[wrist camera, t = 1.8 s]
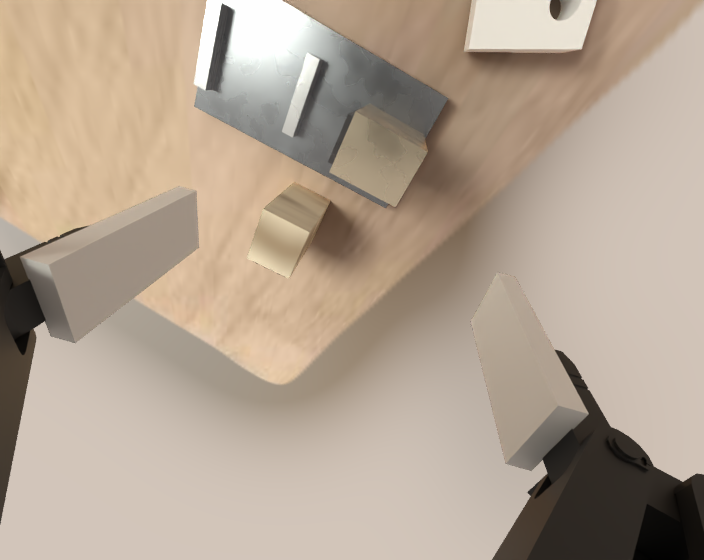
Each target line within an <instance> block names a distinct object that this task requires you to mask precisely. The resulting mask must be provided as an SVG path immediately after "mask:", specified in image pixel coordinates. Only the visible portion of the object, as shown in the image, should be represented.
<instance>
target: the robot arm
mask: <svg viewBox="0 0 704 560" xmlns="http://www.w3.org/2000/svg"><path fill="white" fill-rule="evenodd" d="M198 248H199V238H198V216H197V193H196V191H195V190H192V189H188V188H184V187H180V186H178V187H176V188H174V189H172V190H169V191H167V192H165V193H163V194H160V195H158V196H156V197H154V198H151V199H149V200H147V201H145V202H142V203H140V204H138V205H135V206H133V207H131V208H129V209H126V210H124V211H122V212H120V213H117V214H115V215H113V216H111V217H108V218H106V219H104V220H102V221H99V222H97V223H95V224H93V225H90V226H85V227H81V228H76V229H73V230H71V231H69V232H66V233H64V234H62V235H60V237H55V238H53V239H50V240H48V242H43V243H41V244H39V245H36V246H34V247H32V248H30V249H27V250H25V251H23V252H20V253H18V254H16V255H14V256H11V257H9V258H6V259H4V258H3V256H2V253H1V251H0V523H1V518H2V512H3V507H4V502H5V497H6V491H7V487H8V482H9V476H10V471H11V466H12V461H13V456H14V451H15V446H16V440H17V435H18V430H19V425H20V420H21V415H22V410H23V404H24V399H25V394H26V389H27V384H28V379H29V374H30V369H31V364H32V358H33V353H34V348H35V343H36V334H35V331H34V329H33V328H35V327H36V326H38V325H40V324H41V323H43V322H44V321H45V323H46V325H47V328H48V330H49V333H50V336H52V337H55V338H59V339H63V340H66V341H70V342H73V343H76V342H77V341H79V340H80V339H81V338H82V337H84V336H85V335H86V334H88V333H89V332H90V331H91V330H93V329H94V328H95V327H97V326H98V325H99V324H101V323H102V322H103V321H104V320H106V319H107V318H108V317H110V316H111V315H112V314H113V313H115V312H116V311H117V310H119V309H120V308H121V307H122V306H124V305H125V304H126V303H128V302H129V301H130V300H132V299H133V298H134V297H136V296H137V295H138V294H139V293H141V292H142V291H143V290H145V289H146V288H147V287H148V286H150V285H151V284H152V283H154V282H155V281H156V280H157V279H159V278H160V277H161V276H163V275H164V274H165V273H167V272H168V271H169V270H170V269H172V268H173V267H174V266H176V265H177V264H178V263H179V262H181V261H182V260H183V259H185V258H186V257H187V256H189V255H190V254H191V253H192V252H194V251H195V250H196V249H198ZM471 326H472V330H473V333H474V337H475V342H476V346H477V350H478V354H479V358H480V362H481V366H482V370H483V374H484V378H485V382H486V386H487V390H488V394H489V398H490V402H491V407H492V410H493V414H494V419H495V422H496V426H497V431H498V435H499V439H500V443H501V447H502V451H503V455H504V459H505V463H506V464H509V465H512V466H516V467H519V468H523V469H527V470H530V471H532V470H533V469H534V468H535V467H536V466H537V465H538V464H539V463H540V462H541V461H542V460H543V461H544V464H545V467H546V469H547V473H548V474H547V475H545V476H544V477H543V478H542V479H541V480H540V481H539V482H538V483H537V484H536V485H535V486H534V487H533V488H532V489H530V490H529V491H528V494H529V495H530V496H531V497H530V499H529V500H528V502H527V504H526V505H525V507H524V508H523V510H522V512H521V513H520V515H519V517H518V518H517V520H516V522H515V523H514V525H513V526H512V528H511V530H510V531H509V533H508V535H507V536H506V538H505V540H504V541H503V543H502V544H501V546H500V548H499V549H498V551H497V553H496V554H495V556H494V557H493V559H492V560H704V475H702V474H695V475H693V476H692V477H690V478H689V479H687V480H686V481H684V482H682V481H680V480H678V479H676V478H674V477H672V476H670V475H668V474H667V473H665V472H663V471H661V470H659V469H657V468H655V467H654V466H653V464H652V462H651V460H650V458H649V456H648V455H647V454H646V453H645V451H644V450H643V449H642V448H641V447H640V446H639V445H638V444H637V443H636V442H635V441H634V440H632V439H631V438H630V437H629V436H627V435H625V434H624V433H622V432H620V431H619V430H617V429H614V428H611V427H610V425H609V424H608V422H607V420H606V418H605V416H604V415H603V413H602V411H601V410H600V408H599V406H598V404H597V403H596V401H595V399H594V398H593V396H592V394H591V392H590V391H589V390H587V389H588V387H587V385H586V384H585V382H584V380H582V379H581V378H582V377H581V375H580V373H579V371H578V370H577V368H576V366H575V365H574V364H573V362H572V361H571V360H570V359H569V358H568V357H567V356H566V355H565V354H564V353H563V352H561V351H558V350H554V348H553V346H552V344H551V342H550V340H549V339H548V337H547V335H546V333H545V331H544V330H543V328H542V326H541V324H540V322H539V320H538V318H537V316H536V314H535V313H534V311H533V309H532V307H531V305H530V303H529V301H528V299H527V298H526V296H525V294H524V292H523V290H522V288H521V286H520V284H519V283H518V281H517V279H516V277H514V276H511V275H507V274H503V273H500V272H497V274H496V276H495V278H494V279H493V281H492V283H491V285H490V287H489V289H488V290H487V292H486V294H485V296H484V298H483V299H482V301H481V303H480V305H479V307H478V309H477V310H476V312H475V314H474V316H473V318H472V320H471Z"/></svg>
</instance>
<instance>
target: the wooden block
mask: <svg viewBox="0 0 704 560" xmlns="http://www.w3.org/2000/svg"><path fill="white" fill-rule="evenodd" d="M329 204H330V200H328V199H326V198H324V197H322V196H320V195H318V194H316V193H315V192H313V191H311V190H309V189H307V188H305V187H303V186H301V185H299V184H297V183H295V182H294V183H293V184H291V185H290V186H289V187H288V188H287V189H286V190H284V191H283V192H282V193H281V194H280V195H279V196H277V197H276V198H275V199H274V200H273V201H272V202H271V203H269V204H268V205H267V206H266V207H265V208H264V209H263V211H262V214H261V217H260V220H259V223H258V226H257V229H256V232H255V235H254V238H253V241H252V244H251V247H250V250H249V253H248V256H247V259H249V260H251V261H253V262H255V263H257V264H259V265H261V266H263V267H265V268H267V269H269V270H271V271H273V272H276V273H278V274H280V275H282V276H284V277H286V278H288V279H289V278H290V276H291V275H292V273H293V271H294V270H295V268H296V267H297V265H298V263H299V262H300V260H301V259H302V257H303V255H304V254H305V252H306V250H307V249H308V247H309V246H310V244H311V242H312V241H313V239H314V236H315V234H316V232H317V230H318V228H319V226H320V223H321V221H322V219H323V217H324V215H325V212H326V210H327V208H328V206H329Z"/></svg>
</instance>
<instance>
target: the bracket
mask: <svg viewBox="0 0 704 560" xmlns="http://www.w3.org/2000/svg"><path fill="white" fill-rule="evenodd" d="M550 1H551V0H472V3H471V9H470V15H469V22H468V28H467V34H466V41H465V47H464V52H511V53H565V52H570V51H575V50H581V49H582V46H583V43H584V40H585V37H586V34H587V30H588V27H589V24H590V21H591V18H592V14H593V11H594V8H595V5H596V2H597V0H560V3H561V11H560V14H559V16H558V18H557V20H555V19H554V18H553V17H552V16H551V14H550V10H549V6H550Z"/></svg>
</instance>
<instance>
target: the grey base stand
mask: <svg viewBox="0 0 704 560" xmlns="http://www.w3.org/2000/svg"><path fill="white" fill-rule="evenodd" d="M194 85H196V86H198V88H197V94H196V99H195V105H194V107H196V108H198V109H200V110H202V111H204V112H206V113H208V114H209V115H211V116H213V117H215V118H217V119H219V120H221V121H223V122H224V123H226V124H228V125H230V126H232V127H234V128H236V129H238V130H239V131H241V132H243V133H245V134H247V135H249V136H251V137H253V138H255V139H256V140H258V141H260V142H262V143H264V144H266V145H268V146H270V147H271V148H273V149H275V150H277V151H279V152H281V153H283V154H285V155H287V156H288V157H290V158H292V159H294V160H296V161H298V162H300V163H302V164H303V165H305V166H307V167H309V168H311V169H313V170H315V171H317V172H319V173H320V174H322V175H324V176H326V177H328V178H330V179H332V180H334V181H335V182H337V183H339V184H341V185H343V186H345V187H347V188H349V189H351V190H352V191H354V192H356V193H358V194H360V195H362V196H364V197H366V198H367V199H369V200H371V201H373V202H375V203H377V204H379V205H381V206H383V207H384V208H386V207H387V205H388V204H390V205H392V206H393V207H396V206H397V204H398V202H399V201H400V199H401V197H402V195H403V194H404V192H405V190H406V189H407V187H408V185H409V184H410V182H411V180H412V178H413V177H414V175H415V173H416V172H417V170H418V168H419V167H420V165H421V163H422V161H423V160H424V158H425V156H426V155H427V153H428V150H427V146H426V141H425V138H426V137H427V135H428V133H429V131H430V130H431V128H432V126H433V124H434V123H435V121H436V119H437V117H438V116H439V114H440V112H441V110H442V109H443V107H444V105H445V103H446V102H447V100H448V98H447V97H445V96H444V95H442V94H440V93H438V92H437V91H435V90H433V89H432V88H430V87H428V86H427V85H425V84H423V83H421V82H420V81H418V80H416V79H415V78H413V77H411V76H410V75H408V74H406V73H404V72H403V71H401V70H399V69H398V68H396V67H394V66H392V65H391V64H389V63H387V62H386V61H384V60H382V59H381V58H379V57H377V56H375V55H374V54H372V53H370V52H369V51H367V50H365V49H364V48H362V47H360V46H358V45H357V44H355V43H353V42H352V41H350V40H348V39H346V38H345V37H343V36H341V35H340V34H338V33H336V32H335V31H333V30H331V29H329V28H328V27H326V26H324V25H323V24H321V23H319V22H318V21H316V20H314V19H312V18H311V17H309V16H307V15H306V14H304V13H302V12H301V11H299V10H297V9H295V8H294V7H292V6H290V5H289V4H287V3H285V2H283V1H282V0H207V6H206V12H205V18H204V24H203V31H202V37H201V43H200V49H199V55H198V61H197V67H196V73H195V79H194Z"/></svg>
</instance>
